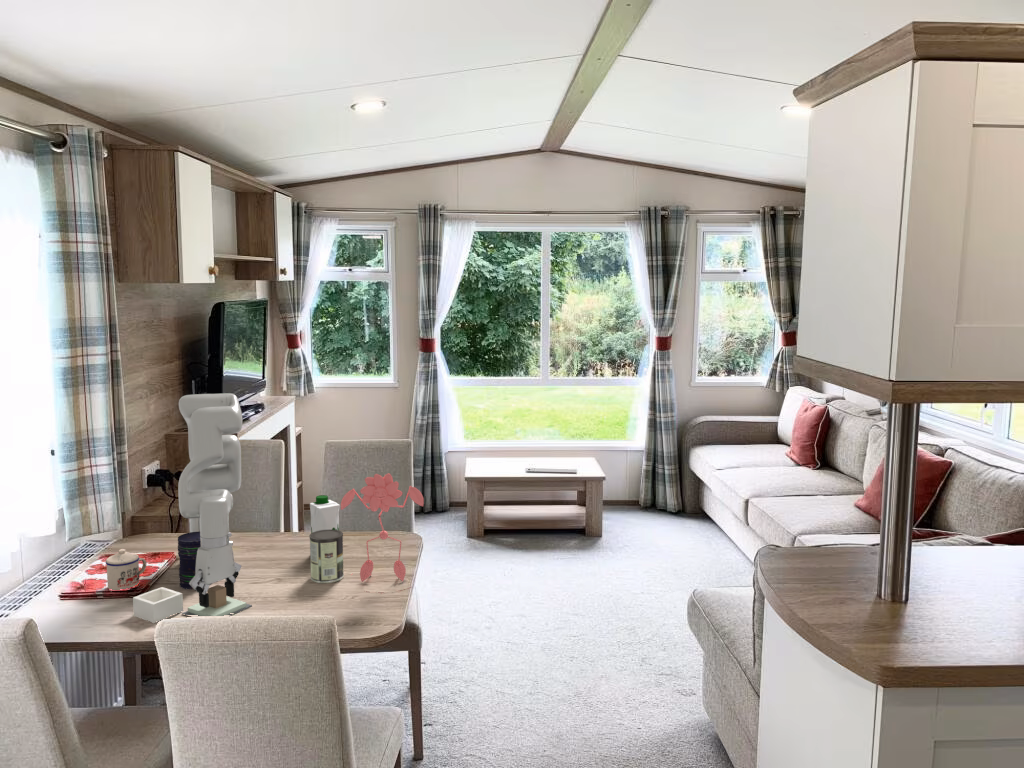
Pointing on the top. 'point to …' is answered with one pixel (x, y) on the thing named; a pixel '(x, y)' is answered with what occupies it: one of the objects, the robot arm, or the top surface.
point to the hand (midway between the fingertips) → (217, 600)
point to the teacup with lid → (123, 570)
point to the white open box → (157, 604)
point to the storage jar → (188, 557)
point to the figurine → (382, 496)
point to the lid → (217, 603)
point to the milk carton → (324, 514)
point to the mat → (228, 614)
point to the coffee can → (326, 556)
